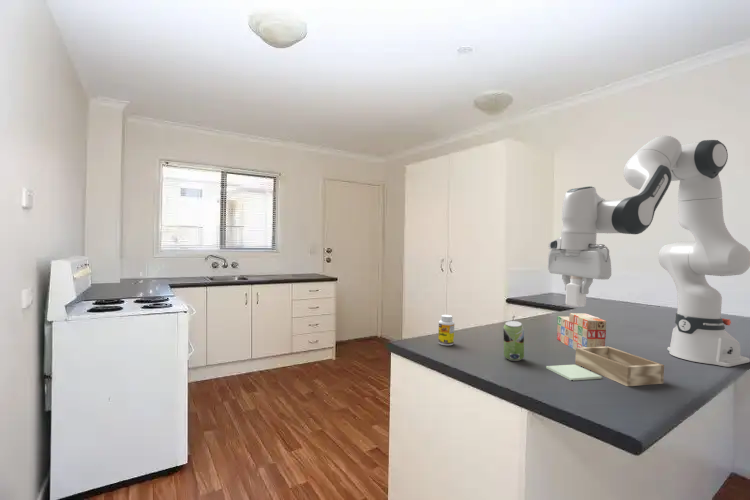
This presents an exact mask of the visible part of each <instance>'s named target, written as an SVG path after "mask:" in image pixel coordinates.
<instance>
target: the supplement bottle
mask: <svg viewBox="0 0 750 500" xmlns="http://www.w3.org/2000/svg"><path fill="white" fill-rule="evenodd" d="M437 337H438V339H437V342H438V344H439V345H441V346H453V345H454V342H455V321H453V315H451V314H450V315H449V314H442V315H441V316H440V320H439V321H438V335H437Z"/></svg>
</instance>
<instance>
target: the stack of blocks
mask: <svg viewBox="0 0 750 500" xmlns="http://www.w3.org/2000/svg"><path fill="white" fill-rule="evenodd" d="M556 319H557V322H556V323H557V331H556V332H557V333H556V334H557V335H556V336H557V337H556V340H558V341H559V342H561V343H563V344H564V345H566V346H568V347H569V348H571V349H573V350H575V351H576V348H584V347H606V337H607V335H606V333H607V320H605V319H602V318H600V317H598V316H594V315H591V314H588V313H581V312H580V313H579V312H577V313H575V312H569V316H568V315H567V316H566V315H565V316H558V315H557V318H556Z"/></svg>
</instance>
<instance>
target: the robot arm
mask: <svg viewBox="0 0 750 500" xmlns="http://www.w3.org/2000/svg"><path fill="white" fill-rule="evenodd" d="M728 156H729V155H728V149H727V147H726V145H725V144H724V142H723V143H722V142H721V141H720V140H718V139H706V140H701V141H695V142H690V143H684V144H681V142H680V140H678V139H677V138H676V137H674V136H671V135H660V136H656V137H654V138H652V139H651V140H649V141H647V142H646V143H645V144H644V145H642V146H641V147H640V148H639V149H637V151H636V152H635V153H634V154H632V156H631V157H630V158H629V159H628V160H627V162H626V163H625V165H624V167H623V177H624V180H625V181H626V182H627V183H628V185H630V186H631V187H633V188H634V189H636V190H638V192H637V193H636V194H634V195H632V196H628V197H627V196H626V197H622V198H615V199H606V198H603V197H601V196H600V195H599V194H598V193H597V189H596V187H595V186H592V185H591V186H583V187H577V188H570V189H568V190H567V191H566V192H565V194H564V196H563V199H562V209H561V221H562V229H561V233H560V237H557V238H556V239H554V240H552V241H550V242H549V243H548V249H549V252H548V257H547V270H548V272H549V273H550V274H554V275H555V274H556V275H561V280H562V281H563V284H564V291H565V292H566V285H567V284H569V283H571V279H570V276H576V277H583V278H582V281H583V285H582V287H580V293H581V294H586V295H588V294H589V292H590V291H589V289H590V287H591V286H592V283H594V280H609V279H610V278H611V277H612V262H611V255H610V249H609V248H608V247H607V245H605V244H601V243H600V244H597V234H625V235H639V234H642V233H643V232H645V231H646V230H647V229H648V228H649V227H650V226H651V224H652V222H653V220H654V216H655V214H656V213H655V212H656V210H657V208H658V206H659V205H660V203H661V201H662V200H663V199H664V198H663V197H664V196H665V194H666V192H667V191H668V190H669V187H670V185H671V183H672V182H676V181H677V182H678V181H679V185H678V193H677V206H678V213H677V214H678V223H679V225H680V226H681V227H682V229H683V228H684V230H687V231H689V232H690V233H691V234H692V235H693V237H694V239H695V241H676V242H671V243H667V244H665V245H663V246H662V247H661V248H660V249H659V251H658V256H657V259H658V262H659V264H660V266H661V267H662V268H663V269H665V270H666V271H667V273H668V274H669V275H670V276H671V278H672V280H673V282H674V285H675V288H676V292H677V293H676V294H677V296H676V297H677V311H676V313H675V317H674V323H675V326H674V327H673V329H672V333H671V341H670V346H667V351H669V354H670V355H671V356H673V357H676V358H679V359H683V360H686V361H690V362H694V363H695V362H696V363H701V364H707V365H716V366H721V367H727V368H730V367H734V366H739V365H743V364H747V363H750V357H746V356H743V355H741V344H740V342H739V341H738V340H737V339H736V338H734V337H733V336H732V335H731V334H730V333H729V332H727V331H726V327H725V326H731V324H732V321H731V319H729V318H722V304H723V298H722V294H721V292H720V291H718V289H716V288H714V287H712V286H711V285H710V284H709V283H708V281H707V279H706V276H716V277H731V276H739V275H740V276H741V275H744V273H746V272H747V271H748V270H749V268H750V250H749V249H748V247H746V246H745V245H744V244H742V243H740V242H739V241H738V240H736V239H735V238H734V237H733V235H732V234H731V233H730V232H729V230H728V228H727V226H726V223H725V219H724V210H723V190H722V184H721V183H722V182H721V179H720V176H719V174H720V172H721V171H722V170H723V169H724V168H725V166H726V164H727V163H728V160H729V159H728ZM593 279H594V280H593Z"/></svg>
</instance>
